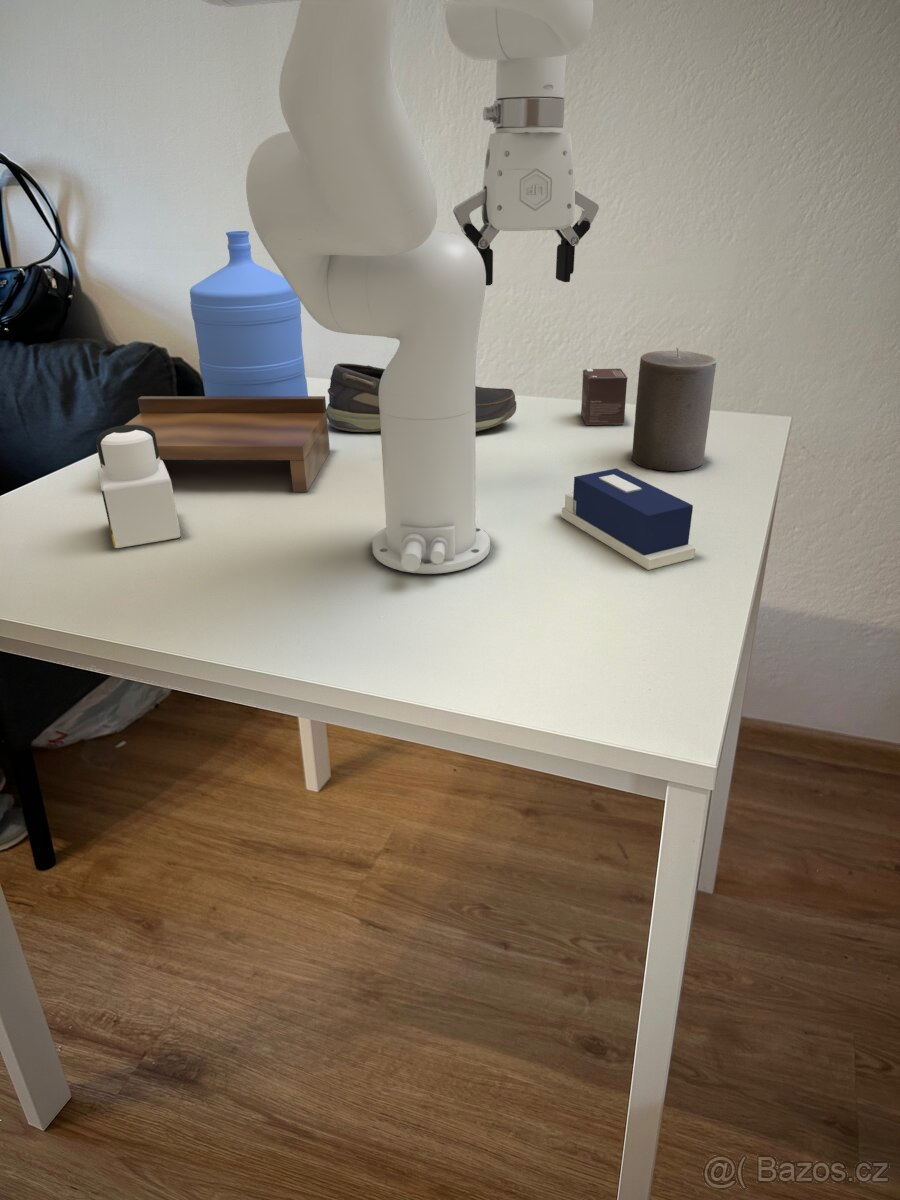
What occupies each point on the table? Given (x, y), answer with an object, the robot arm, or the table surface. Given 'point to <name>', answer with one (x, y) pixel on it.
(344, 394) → the boat shoe
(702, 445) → the pillar candle
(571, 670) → the table surface
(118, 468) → the medicine bottle
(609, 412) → the box
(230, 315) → the water jug
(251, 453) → the shelf
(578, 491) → the blue block on tray
